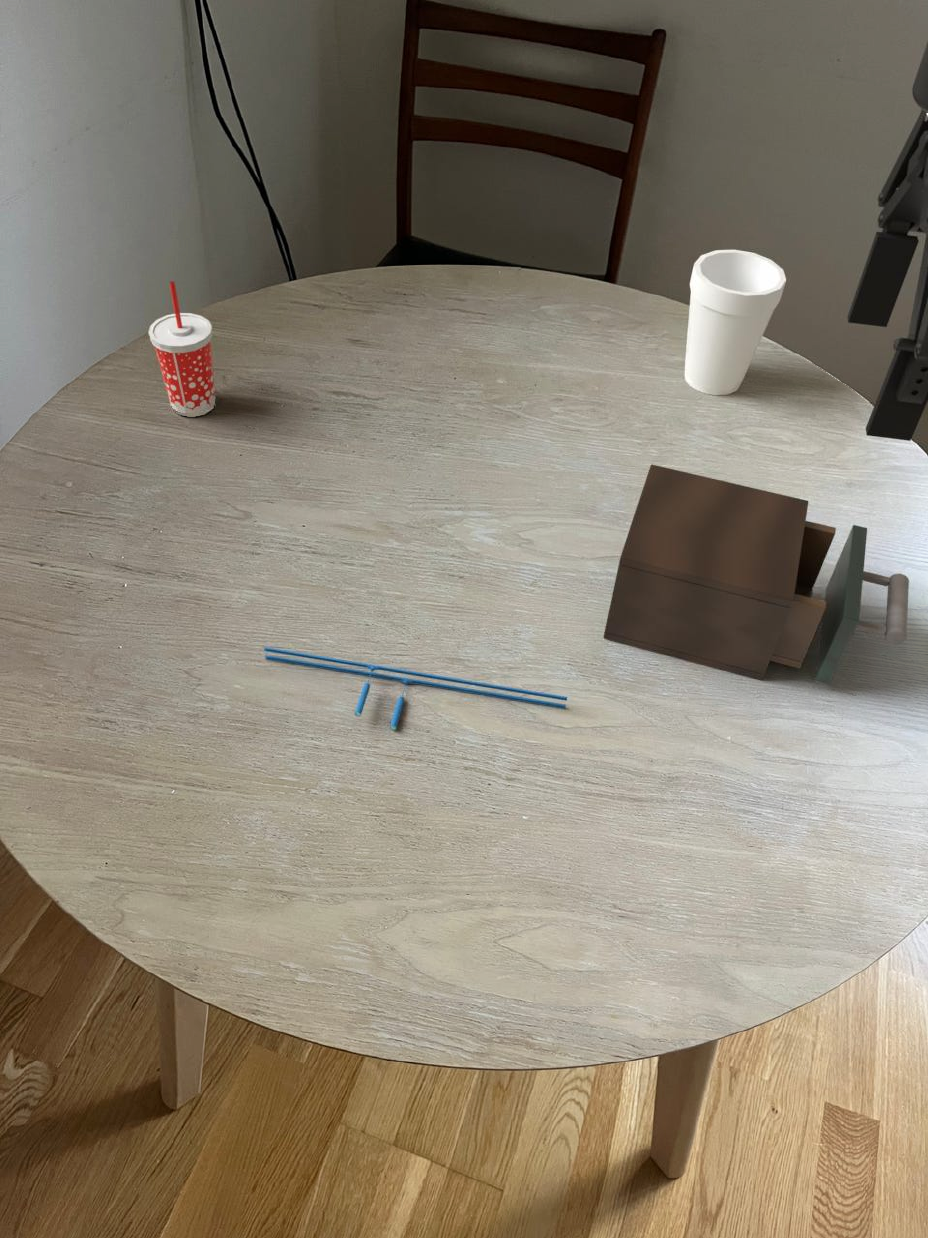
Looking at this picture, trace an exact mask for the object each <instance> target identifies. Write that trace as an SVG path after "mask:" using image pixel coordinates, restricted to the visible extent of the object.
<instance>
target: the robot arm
mask: <svg viewBox="0 0 928 1238" xmlns="http://www.w3.org/2000/svg"><path fill="white" fill-rule="evenodd" d="M920 60H921V61H920V63H919V66H918V69H917V72H916V75H915V78H914V81H913V83H912V84H913V85H912V87H911V88H912V89H911V91H912V98H913V100H914V102H915V103H916V105H917V106H918V107H919V108H920V109H921V110H920V113H919V115H918V117H917V119H916V121H915V123H914V125H913V127H912V129H911V131H910V133H909V135H908V137H907V139H906V141H905V142H904V145H903V147H902V149H901V151H900V153H899V155H898V156H897V159H896V161H895V163H894V165H893V167H892V168H891V171H890V173H889V175H888V177H887V179H886V181H885V183H884V184H883V186H882V189H881V191H880V193H879V194H878V197H877V201H878V204H877V205H878V207H879V208H882V210H881V211H880V213H879V215H878V218H877V228H879V229H882V230H881V231H876V232H875V235H874V238H873V241H872V244H871V247H870V249H869V252H868V256H867V259H866V261H865V265H864V267H863V270H862V273H861V276H860V278H859V282H858V285H857V287H856V290H855V293H854V296H853V300H852V302H851V305H850V308H849V311H848V314H847V323H848V324H857V325H865V326H873V327H883V328H887V327H888V325H889V322H890V319H891V316H892V314H893V311H894V309H895V306H896V304H897V301H898V297H899V295H900V292H901V291H902V290H901V289H902V287H903V285H904V283H905V280H906V276H907V275H908V271H909V269H910V265H911V263H912V260H913V257H914V255H915V252H916V250H917V247H918V245H919V242H920V241H919V238H918V235H910V234H909V232H911V233H922V234H925V241H924V245H923V251H922V257H921V263H920V268H919V274H918V277H917V284H916V291H915V294H914V301H913V306H912V311H911V317H910V322H909V323H910V324H909V327H908V334H907V336H906V337H899V338H896V339H895V340H893V341H892V349H893V351H894V355H893V358H892V360H891V362H890V365H889V367H888V370H887V373H886V375H885V378H884V380H883V383H882V385H881V387H880V390H879V392H878V395H877V398H876V400H875V402H874V406H873V408H872V411H871V412H870V415H869V418H868V421H867V422H866V423H867V424H866V426H865V434H866V436H867V437H875V438H876V437H877V438H882V439H883V438H884V439H892V440H900V441H908V442H910V441H912V438H913V436H914V434H915V432H916V429H917V426H918V424H919V422H920V419H921V418H922V415H923V413H924V410H925V408H926V406H927V404H928V41H927V42H926V45H925V48H924V50H923V54H922V57H921V59H920Z"/></svg>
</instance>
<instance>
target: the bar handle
mask: <svg viewBox="0 0 928 1238" xmlns="http://www.w3.org/2000/svg"><path fill="white" fill-rule="evenodd" d="M263 651H264V652H268V653H269V652H270V653H274V654H281V655H286V656H293V657H298V658H305V659H312V660H315V661H323V662H329V663H335V664H342V665H348V666H353V667H360V668H365V669H368V670H369V671H367V670H366V671H365V670H357V669H353V668H348V667H347V668H346V667H342V666H335V665H329V664H323V663H317V662H311V661H304V660H299V659H292V658H287V657H281V656H276V655H275V656H274V655H268V654H265V655H264V657H265V658H264V659H265V660H271V661H276V662H283V663H289V664H295V665H300V666H308V667H313V668H318V669H324V670H325V669H326V670H330V671H336V672H342V673H348V674H355V675H360V676H367V677H369V678H368V681H367V682H365V683H364V684H363V687H362V690H361V693H360V697H359V699H358V702H357V705H356V709H355V711H354V715H355V717H361V716H362V712H363V710H364V706H365V703H366V701H367V698H368V694H369V692H370V688H371V683H369V682H370V679H371V677H372V678H379V679H383V680H384V679H385V680H392V681H397V682H401V683H403V684H404V687H403V688H404V689H403V691H402V693H401V694H402V695H401V696H399V697H398V698H397V701H396V705H395V709H394V712H393V715H392V719H391V721H390V726H389V729H390V730H392V731H396V730H397V727H398V724H399V720H400V717H401V713H402V710H403V706H404V703H405V697H404V693H405V689H406V687H407V685H408V684H416V685H422V686H427V687H433V688H438V689H439V688H440V689H444V690H445V689H446V690H452V691H456V692H457V691H458V692H464V693H470V694H474V695H475V694H476V695H481V696H487V697H494V698H498V699H499V698H500V699H504V700H505V699H506V700H511V701H517V702H523V703H530V704H535V705H541V706H548V707H554V708H560V709H566V706H567V704H565V703H559V702H552V701H546V700H541V699H533V698H527V697H523V696H517V695H516V696H515V695H511V694H504V693H499V692H498V693H497V692H491V691H486V690H479V689H473V688H468V687H463V686H456V685H450V684H444V683H438V682H431V681H425V680H419V679H413V678H407V677H401V676H395V675H390V674H383V673H378V672H375V671H378V670H379V671H384V672H391V673H395V674H396V673H397V674H402V675H407V676H414V677H420V678H426V679H431V680H437V681H443V682H444V681H445V682H450V683H456V684H463V685H469V686H473V687H479V688H486V689H493V690H498V691H505V692H512V693H516V694H522V695H530V696H534V697H541V698H546V699H553V700H558V701H559V700H561V701H564V702H565V701H568V696H564V695H558V694H552V693H545V692H539V691H534V690H527V689H522V688H515V687H509V686H503V685H497V684H493V683H492V684H491V683H485V682H479V681H473V680H469V679H468V680H467V679H461V678H455V677H448V676H443V675H437V674H430V673H424V672H419V671H412V670H406V669H402V668H401V669H400V668H395V667H388V666H381V665H377V664H371V663H365V662H358V661H351V660H347V659H340V658H333V657H328V656H323V655H322V656H321V655H315V654H309V653H302V652H297V651H291V650H285V649H279V648H273V647H266V646H264V647H263Z"/></svg>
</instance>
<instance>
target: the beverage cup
mask: <svg viewBox="0 0 928 1238" xmlns="http://www.w3.org/2000/svg"><path fill="white" fill-rule="evenodd" d="M169 288H170V295H171V298H172V304H173V310H174V313H171V314H167V315H164V316H161V317H160V318H157V319H156V320H155V321H154V322H153V323H152V324H150V326H149V329H148V337H149V340H150V342H151V344H152V346H153V347H154V349H155V353H156V357H157V360H158V364H159V367H160V371H161V375H162V378H163V383H164V387H165V389H166V393H167V397H168V401H169V404H170V407H171V406H172V408H173V409H175V410H176V411H178V412H181V413H201V412H203V411H204V412H205V411H206V410H208V409H210V408H211V407H212V406H213V405H214V404H215V399H216V389H215V387H216V386H215V376H214V364H213V352H212V338H213V325H212V324H211V322H210V320H209V319H207V318H206V317H204V316H202V315H200V314H196V313H191V312H181V311H180V305H179V299H178V294H177V293H178V292H177V288H176V281H174V280H171V281H169ZM216 400H217V399H216ZM215 405H216V404H215ZM172 408H171V409H172Z"/></svg>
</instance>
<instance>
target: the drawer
mask: <svg viewBox="0 0 928 1238" xmlns="http://www.w3.org/2000/svg"><path fill="white" fill-rule="evenodd" d="M836 530H837V528H836V527H834V526H830V525H826V524H822V523H817V522H815V521H814V522H813V521H809V520H806V522H805V528H804V535H803V541H802V548H801V554H800V561H799V567H798V574H797V581H796V587H795V594H794V600H793V603H792V606H791V608H790V611H789V613H788V616H787V618H786V621H785V623H784V626H783V629H782V631H781V634H780V636H779V639H778V641H777V644H776V646H775V649H774V651H773V654H772V656H771V659H770V661H769V662H772V663H773V662H774V663H777V664H782V665H784V666H789V667H792V668H795V669H801V668H802V665H803V663H804V661H805V658H806V657H807V654H808V651H809V649H810V647H811V644H812V642H813V640H814V637H815V635H816V633H817V630H818V628H819V626H820V625H821V626H820V634H819V642H818V650H817V658H816V665H815V673H814V682H816V683H819V684H824V685H827V686H828V685H830V684H831V681H832V679H833V677H834V675H835V673H836V671H837V669H838V667H839V665H840V662H841V660H842V658H843V656H844V654H845V653H846V650H847V648H848V646H849V644H850V641H851V639H852V637H853V635H854V634H855V631H860V632H865V633H869V634H873V635H876V636H881V637H884V641H885V642H886V643H887V644H888V645H891V646H901V645H903V644H905V642H906V641H907V632H908V609H909V608H908V607H909V587H910V580H909V577H908V576H907V575H905V574H903V573H894V574H892V575H890V576H885V575H881V574H878V573H874V572H870V571H865V561H866V547H867V538H868V537H867V536H868V528H867V527H866V526H865V527H864V526H861V525H856V524H852V526H851V529H850V530H849V531H850V532H849V533H848V536H847V538H846V541H845V543H844V546H843V548H842V550H841V552H840V555H839V557H838V559H837V562H836V564H835V567H834V569H833V572H832V574H831V576H830V579H829V581H828V583H827V586H826V588H825V594H824V600H821V599H817V598H813V597H812V596H813V591H814V586H815V584H816V581H817V579H818V577H819V574H820V572H821V569H822V568H823V564H824V562H825V559H826V557H827V555H828V552H829V550H830V548H831V545H832V542H833V540H834V538H835V535H836ZM863 582H867V583H870V584H875V585H879V586H884V587H887V595H886V607H885V608H886V610H885V625H881V624H877V623H873V622H867V621H865V620H861V619H860V614H861V604H862V592H863ZM820 623H821V624H820Z"/></svg>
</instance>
